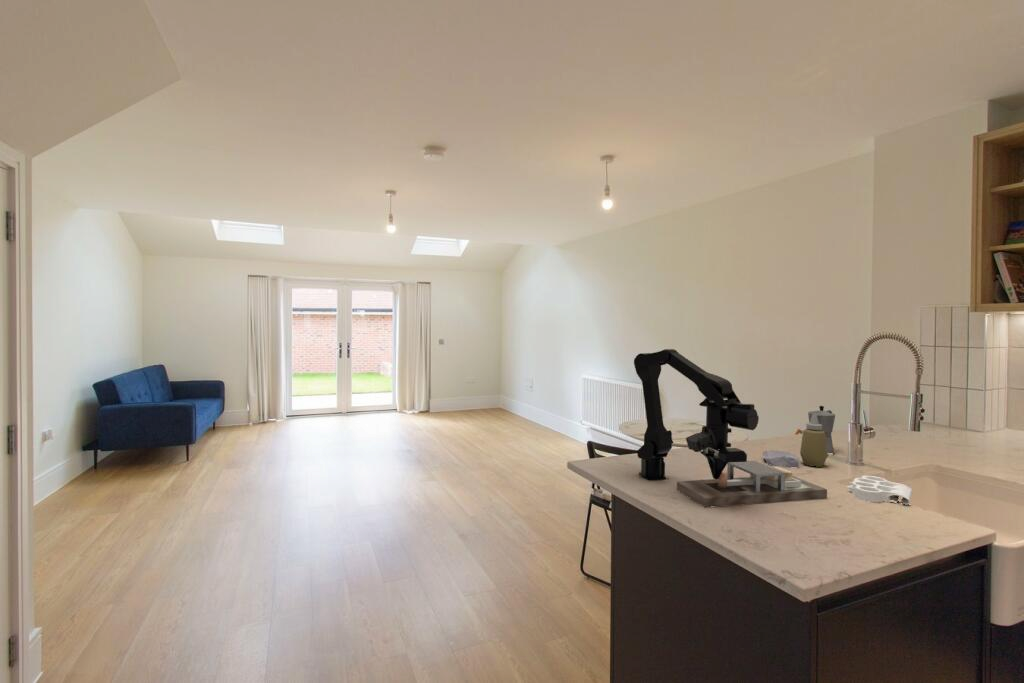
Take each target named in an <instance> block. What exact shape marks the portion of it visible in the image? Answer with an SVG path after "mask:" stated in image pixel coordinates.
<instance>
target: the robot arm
mask: <svg viewBox="0 0 1024 683" xmlns="http://www.w3.org/2000/svg"><path fill="white" fill-rule="evenodd" d="M633 365H634V369H635V373H636V375H637V377H638V378H639V380H640V381H641V384H642V385H641V386H642V391H643V392H642V393H643V400H644V408H645V416H646V418H645V419H646V424H647V426H646V430H645V432H644V436H643V444H642V446H641V447H639V448H638V449H637V451H636V454H637V458H638V459H640V463H641V464H640V471H639V472H638V475H640V476H641V475H642V476H641V477H643V478H644V479H646V480H647V479H648V481H651V480H666V479H667V477H666V463H665V462H666V461H665V459H664V458H667V457H668V454H669V452H670V451H671V450H672V448H673V445H672V444H674V441H673V437H672V436H673V434H672V431H671V430H667V428H666V427H665V424H664V418H663V410H662V403H661V394H660V393H661V392H660V387H659V378H660V375H661V372H662V366H665V365H669V366H670V367H671V368H673V369H674V370H675V371H677V372H679V373H680V374H681V375H683V376H684V377H685V378H687V379H688V380H689V381H691V382H692V383H693V384H694V385H696V387H697V390H698V391H699V392H700V393H701V394H702V395H703V396H704V397H705V398H704V399H703V400H702V401H701V402H700V403H699V406H700V407H705V408H706V417H705V421H706V422H705V425H703V426H702V427H701V431H700V432H696V433H693V434H691V435H689V436H687V437H686V438H685V441H686V444H687V447H688V449H689V450H690V451H691V450H692V451H693V452H694V453H695V452H696V453H700V454H701V455H703V456H704V457H705V458H706V460H707V463H708V466H709V469H710V472H711V476H712V479H718V478H719V476H720V475H721V473H722V472H724V469H726V467H727V466H728V462H746V461H748V460H747V459H748V454H747V453H746V451H744V450H742V449H740V448H737V447H732V443H731V442H729V440H728V439H729V436H728V435H729V433H732V427H733V428H737V429H743V430H749V431H754V430H756V428H757V427H758V424H759V418H760V417H759V415H758V414H759V413H758V412H757V409H756V408H755V404H754V403H742V402H741V400H740V399H739V397H738V396H737V394H736V392H735V391H734V388H733V386H732V383H731V381H729V380H728V379H726V378H723V377H722V376H719V375H717V374H714V373H710V372H708V371H705V370H704V369H703V368H701V367H700V366H699V365H697V364H695V363H694V362H693V361H691V360H689V358H686V357H685V356H684V355H682V354H681V353H679V352H678V350H676V349H674V348H666V349H665V348H664V349H662V350H659V351H656V352H648V353H647V352H644V353H638V354H637V355H636V356H635V357H634V360H633ZM729 426H730V427H731V428H730V427H729Z"/></svg>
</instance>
